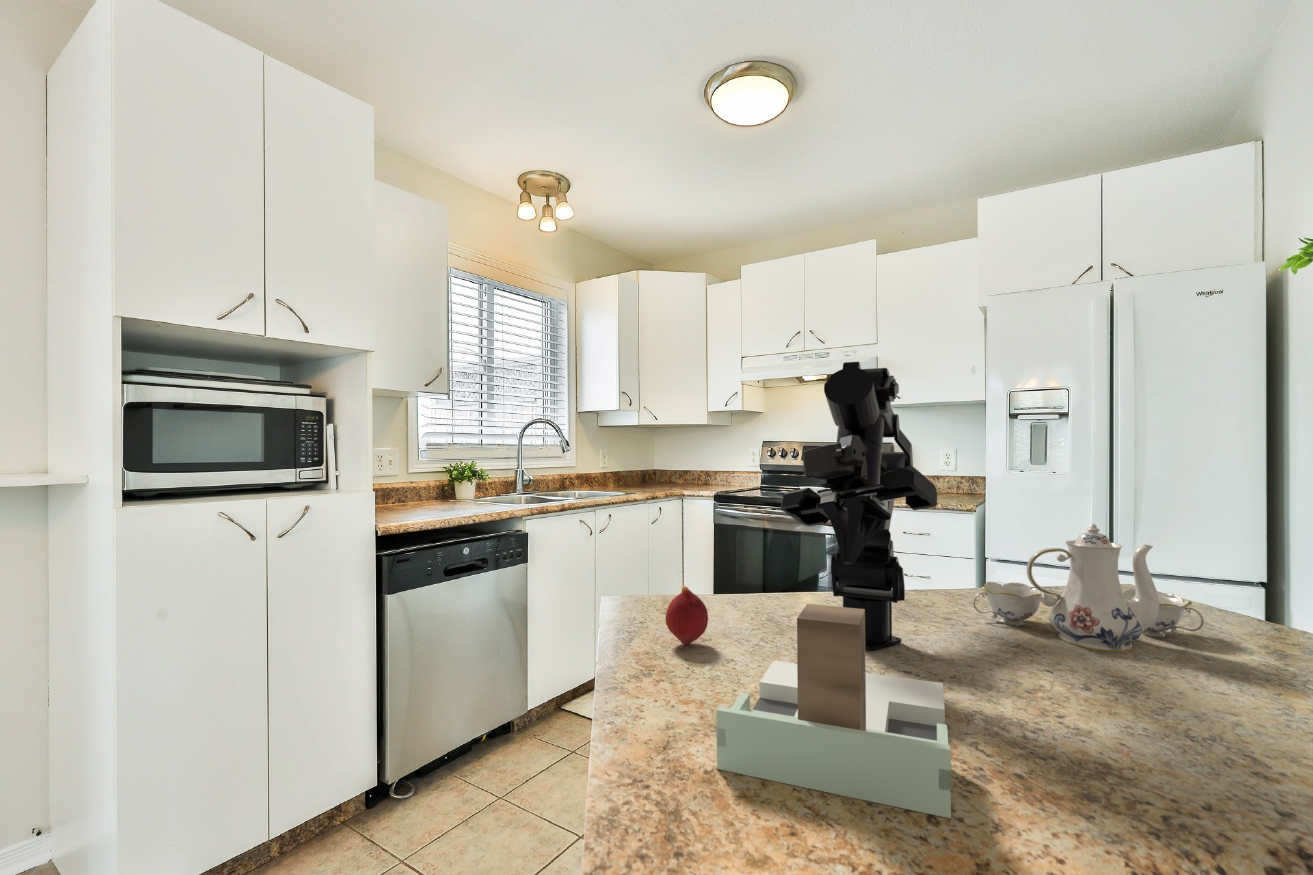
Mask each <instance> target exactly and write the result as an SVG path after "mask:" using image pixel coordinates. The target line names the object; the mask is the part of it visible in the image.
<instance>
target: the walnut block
mask: <svg viewBox="0 0 1313 875" xmlns="http://www.w3.org/2000/svg"><path fill="white" fill-rule="evenodd" d="M796 643H797V645H796V646H797V647H796V653H797V654H796V655H797V656H796V659H797V662H796V664H797V681H798V720H803V721H809V722H815V723H821V724H827V725H833V726H839V727H844V728H850V729H856V730H862V731H866V673H867V672H866V649H865V609H857V608H847V607H843V606H835V605H825V604H815V603H814V604H813V603H806V605H805V606H804V608H803V609H802V611H801V612H800V614H799V615H798V616H797V618H796Z"/></svg>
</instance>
